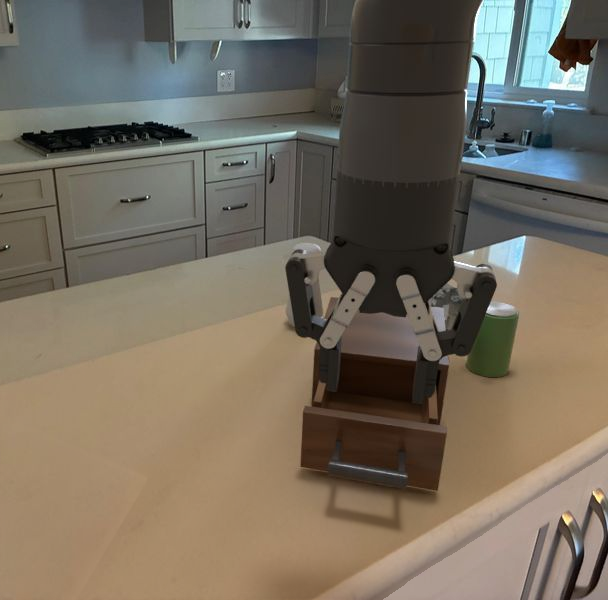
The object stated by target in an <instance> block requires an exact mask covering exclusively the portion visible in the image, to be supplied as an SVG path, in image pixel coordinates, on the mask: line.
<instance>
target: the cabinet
mask: <svg viewBox="0 0 608 600" xmlns="http://www.w3.org/2000/svg"><path fill="white" fill-rule="evenodd" d="M338 298H339V297H335V296H331V297H330V298H329V302H328V305H327V308H326V310H325V314H324V317H323V318H324V319H326V320H327V319H328V317H329V315H330V314H331V312H332V310H333V308H334V307H335V305H336V302H337V300H338ZM431 309H432V312H433V316H434V319H435V322H436V325H437V328H438V331H439V332H441V331H446V330H447V328H446V327H445V316H444V308H440V307H431ZM341 337H342V344H341V358H344V359H352V360H361V361H369V362H377V363H385V364H393V365H401V366H409V367H416V360H417V352H418V346H420V344H419V341H418V339H417V336H416V334H415V333H414V331H413V328H412V325H411V323H410V320H409V317H408V314H407V315H406V317H396V316H392V315H389V314H386V313H383V312H381V313H374V314H367V313H359V310H358V311H357V312H356V314H355V316H354V317H353V319H352V321H351V322H350V324H349V325H348V327H346V329H345V330H344V332H343V334H342V336H341ZM319 358H320V346H319V344H318V342H317V341H315V345H314V349H313V367H312V368H313V369H312V386H311V387H312V388H311V403H310V404H311V405H310V406H311V407H313V404H314V398H315V395H316V391H317V387H318V384H319V380H320V379H319V377H318V376H319ZM449 369H450V359H449V355H447V356H444V357H443V358H442V359H441V360H440V361H439V366H438V373H437V379H436V395H437V414H438V421H437V425H441V422H442V415H443V408H444V401H445V395H446V389H447V383H448V375H449Z"/></svg>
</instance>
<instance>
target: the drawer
mask: <svg viewBox="0 0 608 600" xmlns="http://www.w3.org/2000/svg"><path fill="white" fill-rule="evenodd" d="M415 368H416V367H409V366H401V365H393V364H385V363H377V362H369V361H361V360H352V359H344V358H340V372H339V381H338V386H337V391H336V392H332V391H327V383H321V382H320V380H319V384H318V387H317V391H316V395H315V398H314V404H313V407H311V405H304V407H303V410H302V422H301V423H302V425H301V445H300V465H299V467H300V468H302V469H309V470H315V471H320V472H325V473H327V476H330V477H337V478H340V479H347V480H352V481H356V482H364V483H370V484H376V485H381V486H385V487H393V488H398V489H403V490H407V487H413V488H417V489H423V490H429V491H435V492H439V487H440V479H441V473H442V467H443V460H444V455H445V447H446V442H447V435H448V434H447V433H448V431H447V430H448V428H447V426H446V425H441V424H440V425H437V421H438V414H437V395H436V386H435V393H434V394H433V395H432V397H431V398H427V397H424V400H423V404H416V403H413V383H414V376H415Z"/></svg>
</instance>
